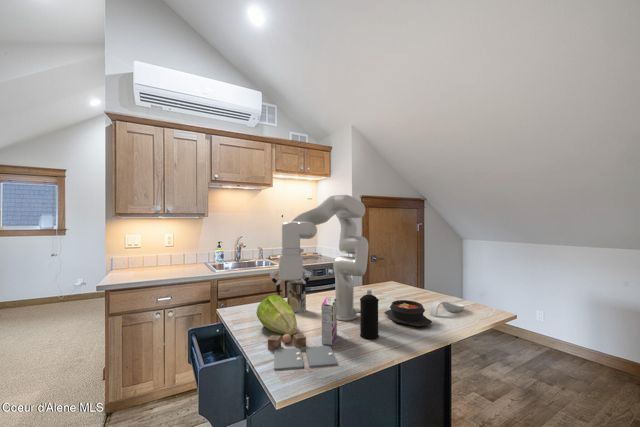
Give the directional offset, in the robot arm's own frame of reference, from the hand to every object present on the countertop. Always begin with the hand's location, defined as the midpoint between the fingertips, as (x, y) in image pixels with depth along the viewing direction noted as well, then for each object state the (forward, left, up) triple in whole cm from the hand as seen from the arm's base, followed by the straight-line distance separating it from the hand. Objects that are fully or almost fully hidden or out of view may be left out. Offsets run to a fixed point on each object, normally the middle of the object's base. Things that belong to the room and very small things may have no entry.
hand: (290, 293), depth 115 cm
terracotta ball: (+1, -1, -19) cm, 19 cm away
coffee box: (-6, -42, -21) cm, 47 cm away
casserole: (-60, -18, -21) cm, 65 cm away
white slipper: (-87, -27, -21) cm, 93 cm away
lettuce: (+4, -16, -21) cm, 26 cm away
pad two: (+1, +12, -20) cm, 24 cm away
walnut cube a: (-4, +2, -20) cm, 21 cm away
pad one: (-11, +12, -20) cm, 26 cm away
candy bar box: (-17, -2, -21) cm, 26 cm away
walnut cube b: (+6, +2, -21) cm, 22 cm away
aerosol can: (-35, -3, -21) cm, 40 cm away
